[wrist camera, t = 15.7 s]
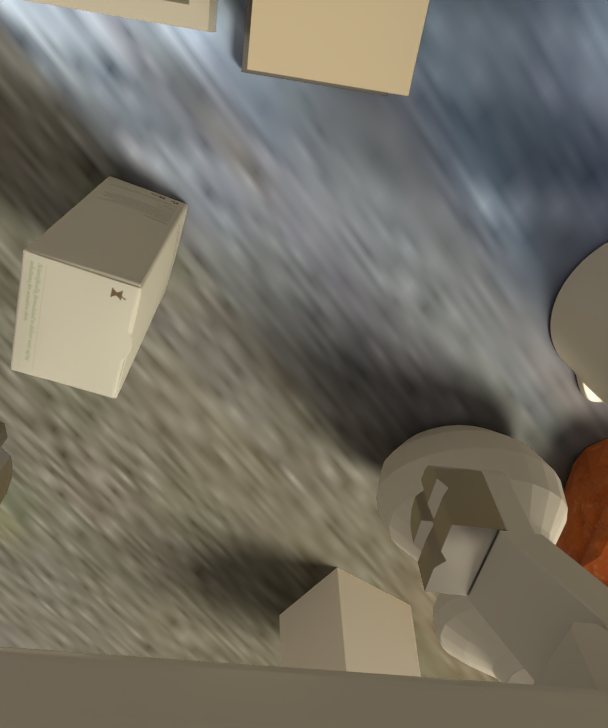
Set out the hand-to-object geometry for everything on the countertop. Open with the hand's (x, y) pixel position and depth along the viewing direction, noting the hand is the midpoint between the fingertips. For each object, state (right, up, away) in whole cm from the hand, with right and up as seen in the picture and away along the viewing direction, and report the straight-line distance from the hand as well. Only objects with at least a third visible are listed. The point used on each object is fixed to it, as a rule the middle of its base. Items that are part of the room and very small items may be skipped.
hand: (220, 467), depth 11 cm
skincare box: (-11, +12, +33) cm, 37 cm away
